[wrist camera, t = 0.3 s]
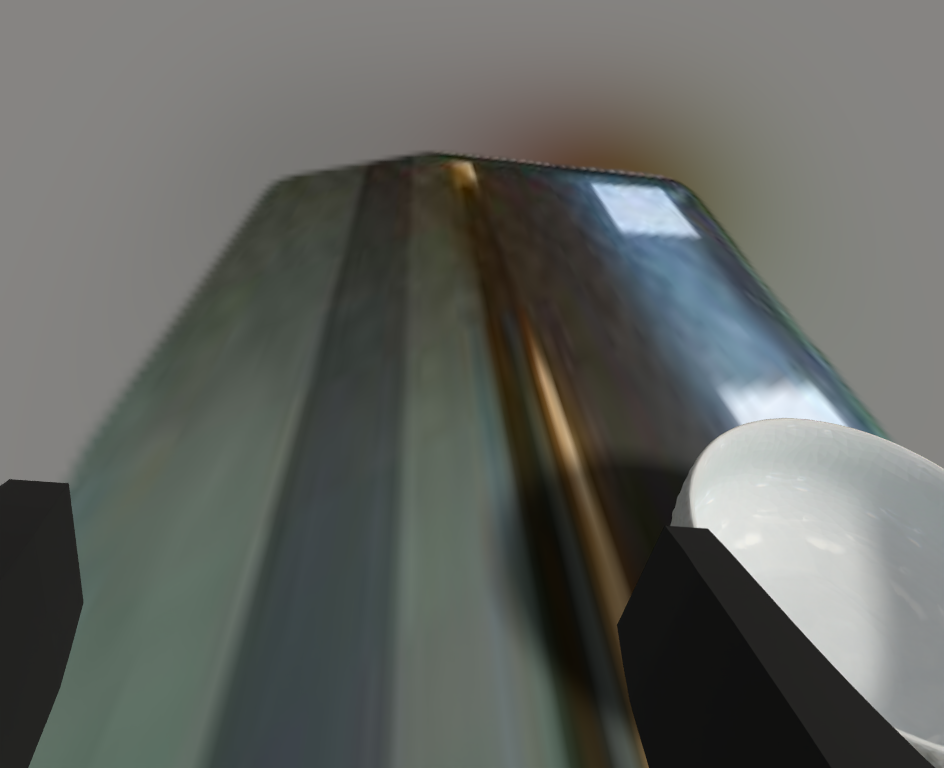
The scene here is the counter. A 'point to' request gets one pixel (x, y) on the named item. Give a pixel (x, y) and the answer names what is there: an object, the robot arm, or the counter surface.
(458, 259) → the counter surface
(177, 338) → the counter surface
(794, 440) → the cereal bowl
